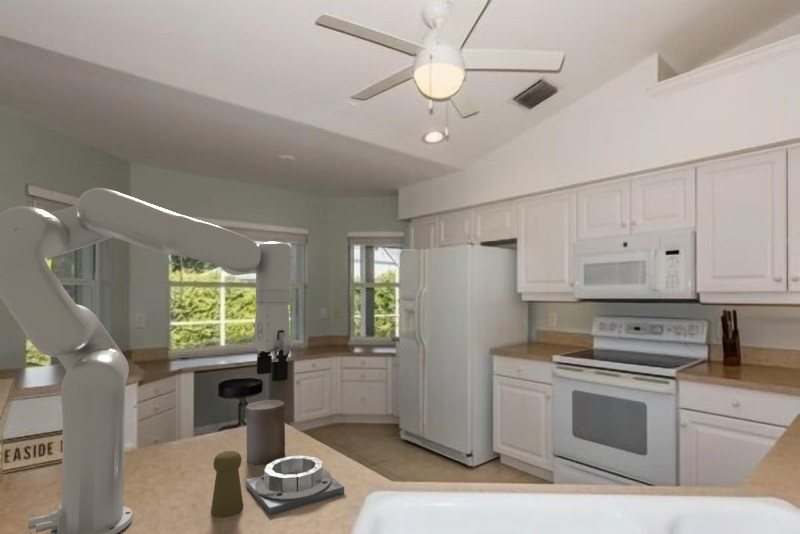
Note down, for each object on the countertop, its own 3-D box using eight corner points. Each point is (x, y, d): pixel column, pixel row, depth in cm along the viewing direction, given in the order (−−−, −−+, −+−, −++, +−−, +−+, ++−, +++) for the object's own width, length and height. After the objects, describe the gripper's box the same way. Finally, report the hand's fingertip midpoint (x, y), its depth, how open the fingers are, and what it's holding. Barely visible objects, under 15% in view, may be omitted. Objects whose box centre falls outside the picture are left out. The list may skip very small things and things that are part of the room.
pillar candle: (291, 451, 121) (290, 395, 122) (275, 465, 111) (275, 404, 112) (256, 450, 122) (256, 394, 123) (238, 464, 112) (238, 403, 113)
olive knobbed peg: (210, 506, 91) (210, 450, 91) (241, 499, 93) (242, 445, 94) (211, 519, 85) (211, 460, 86) (245, 512, 88) (245, 455, 88)
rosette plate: (269, 516, 86) (269, 488, 87) (245, 486, 100) (246, 462, 100) (344, 493, 95) (344, 469, 96) (313, 469, 109) (313, 447, 109)
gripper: (244, 298, 104) (242, 372, 103) (270, 299, 90) (268, 385, 89) (276, 297, 109) (274, 369, 108) (305, 299, 95) (303, 381, 94)
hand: (271, 377), depth 98 cm, fingers open, 9 cm apart
